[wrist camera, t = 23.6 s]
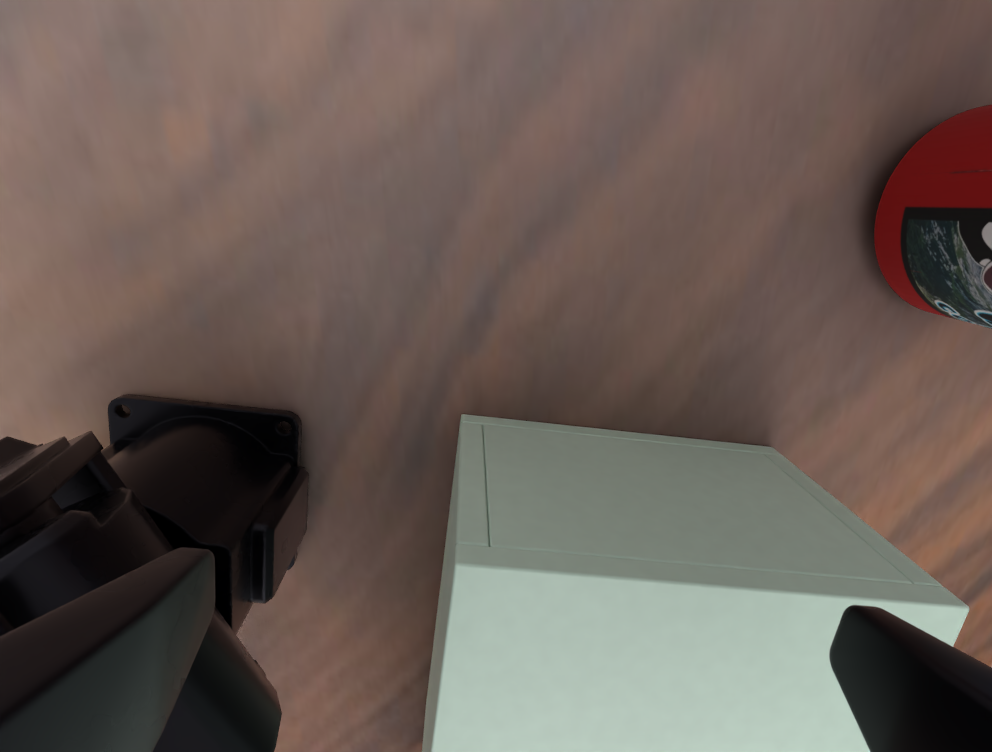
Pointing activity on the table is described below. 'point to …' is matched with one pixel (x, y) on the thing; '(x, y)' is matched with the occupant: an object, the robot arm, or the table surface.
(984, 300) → the beverage can
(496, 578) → the cabinet
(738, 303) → the table surface
